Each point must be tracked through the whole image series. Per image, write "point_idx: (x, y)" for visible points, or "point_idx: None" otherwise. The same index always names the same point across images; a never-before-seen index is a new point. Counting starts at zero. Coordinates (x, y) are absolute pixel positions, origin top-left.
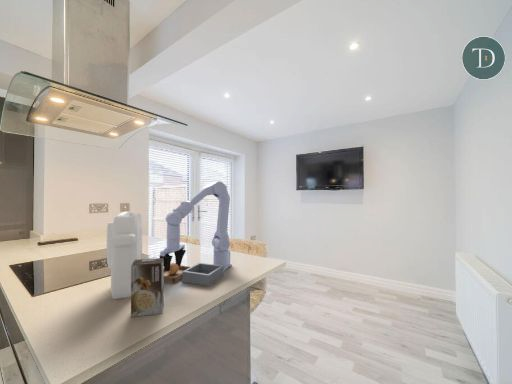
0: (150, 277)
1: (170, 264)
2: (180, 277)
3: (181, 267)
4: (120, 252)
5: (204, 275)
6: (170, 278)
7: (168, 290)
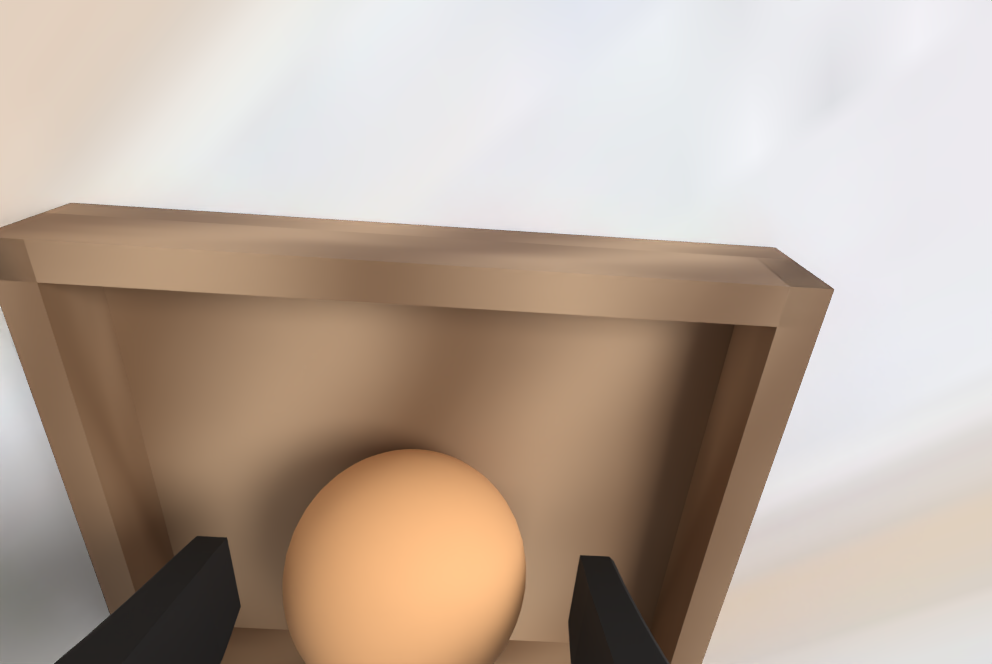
0: None
1: (327, 647)
2: None
3: (701, 517)
4: None
5: None
6: None
7: (17, 653)
